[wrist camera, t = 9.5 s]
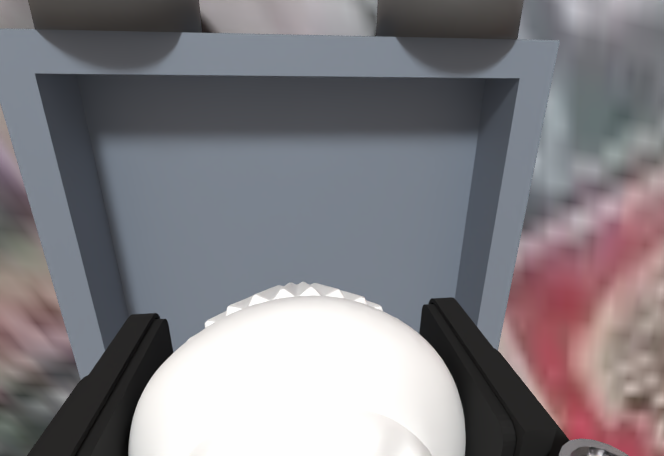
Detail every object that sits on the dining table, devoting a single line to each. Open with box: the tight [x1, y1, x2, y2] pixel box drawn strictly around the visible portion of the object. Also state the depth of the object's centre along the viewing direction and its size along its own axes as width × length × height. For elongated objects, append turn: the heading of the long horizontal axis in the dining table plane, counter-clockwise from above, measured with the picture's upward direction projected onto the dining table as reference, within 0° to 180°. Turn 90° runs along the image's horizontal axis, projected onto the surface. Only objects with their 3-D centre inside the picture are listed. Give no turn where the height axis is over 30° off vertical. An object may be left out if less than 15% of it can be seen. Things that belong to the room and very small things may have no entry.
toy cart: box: [0, 0, 560, 380], centre depth 13 cm, size 15×18×4 cm
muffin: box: [128, 282, 466, 456], centre depth 7 cm, size 6×6×7 cm
